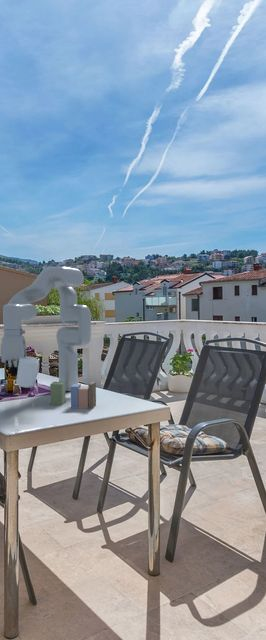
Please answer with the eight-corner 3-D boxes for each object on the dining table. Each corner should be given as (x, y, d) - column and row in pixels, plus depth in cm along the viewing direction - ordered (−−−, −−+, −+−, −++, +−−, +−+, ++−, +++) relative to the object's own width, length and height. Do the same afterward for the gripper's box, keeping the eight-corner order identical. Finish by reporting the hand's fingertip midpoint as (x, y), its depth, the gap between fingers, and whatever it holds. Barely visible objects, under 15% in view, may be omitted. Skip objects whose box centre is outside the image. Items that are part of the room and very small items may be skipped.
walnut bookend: (91, 404, 217) (91, 381, 216) (96, 404, 216) (95, 381, 216) (88, 408, 210) (88, 384, 209) (93, 408, 210) (93, 384, 209)
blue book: (74, 404, 217) (73, 384, 217) (80, 404, 217) (80, 384, 216) (70, 408, 211) (70, 386, 210) (77, 408, 210) (77, 386, 210)
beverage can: (29, 389, 211) (33, 361, 209) (12, 385, 212) (16, 357, 211) (38, 385, 218) (41, 358, 217) (21, 381, 220) (24, 354, 219)
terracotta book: (81, 405, 217) (81, 386, 216) (90, 405, 216) (90, 386, 216) (78, 408, 210) (78, 389, 210) (87, 408, 210) (87, 389, 210)
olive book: (54, 401, 223) (54, 381, 223) (65, 402, 223) (65, 381, 223) (50, 405, 217) (50, 384, 217) (62, 405, 216) (61, 384, 216)
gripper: (32, 332, 218) (33, 374, 219) (-2, 332, 219) (0, 374, 221) (27, 333, 211) (28, 377, 212) (-8, 334, 212) (-6, 377, 213)
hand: (14, 375), depth 216 cm, fingers closed
